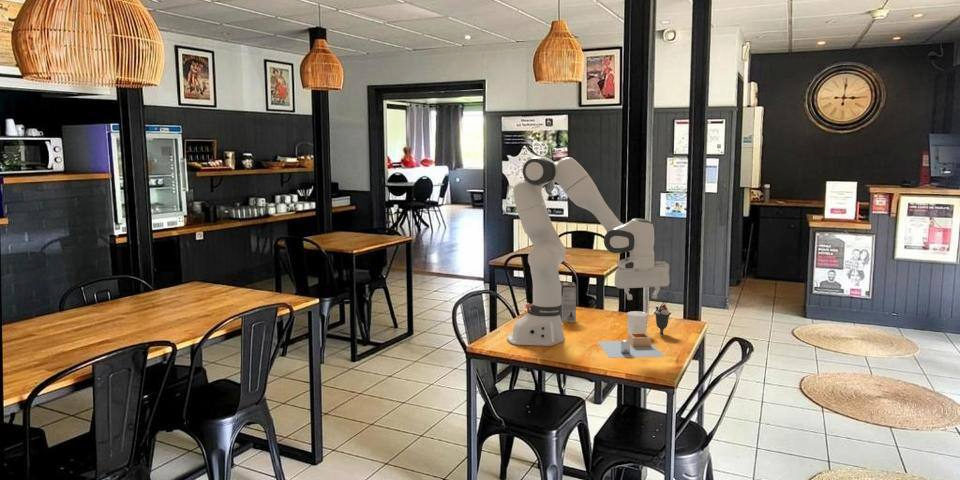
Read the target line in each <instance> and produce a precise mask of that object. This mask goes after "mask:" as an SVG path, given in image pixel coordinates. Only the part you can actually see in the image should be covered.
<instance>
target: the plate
mask: <svg viewBox="0 0 960 480" xmlns="http://www.w3.org/2000/svg"><path fill="white" fill-rule="evenodd" d="M596 343H597V344H598V345H599V346H600V347H601V349H602V350H603V351H604V353H605V354H606V355H607V357H608V358H610V359H612V358H613V359H614V358H615V359H616V358H618V359H619V358H620V359H621V358H666V355H664V354H663V353H662V351H660V350H659V349H658V348H657V347H656V346H655V345H654V343H652V342H651V347H632V346H631V345H630V354H622V353H621V340H612V341H611V340H610V341H609V340H608V341H606V340H604V341H602V340H601V341H598V340H597V341H596Z"/></svg>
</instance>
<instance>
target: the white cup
mask: <svg viewBox="0 0 960 480" xmlns="http://www.w3.org/2000/svg"><path fill="white" fill-rule="evenodd" d="M626 313H627V315H626V316H627V317H626V318H627V320H626V321H627V334H628V333H647V331H648V330H647V328H648V317H649V316H648V315H649V313H648V312H644V311H640V310H639V311H638V310H634V311H633V310H632V311H628V312H626Z"/></svg>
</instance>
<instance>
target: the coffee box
mask: <svg viewBox="0 0 960 480" xmlns="http://www.w3.org/2000/svg"><path fill="white" fill-rule="evenodd" d="M560 283H561V304H562V319H561V321H562V323H563V322H564V323H565V322H566V323H576V322H577V321H576V320H577V319H576V318H577V315H576V314H577V285H576V282H575V281H560Z"/></svg>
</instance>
